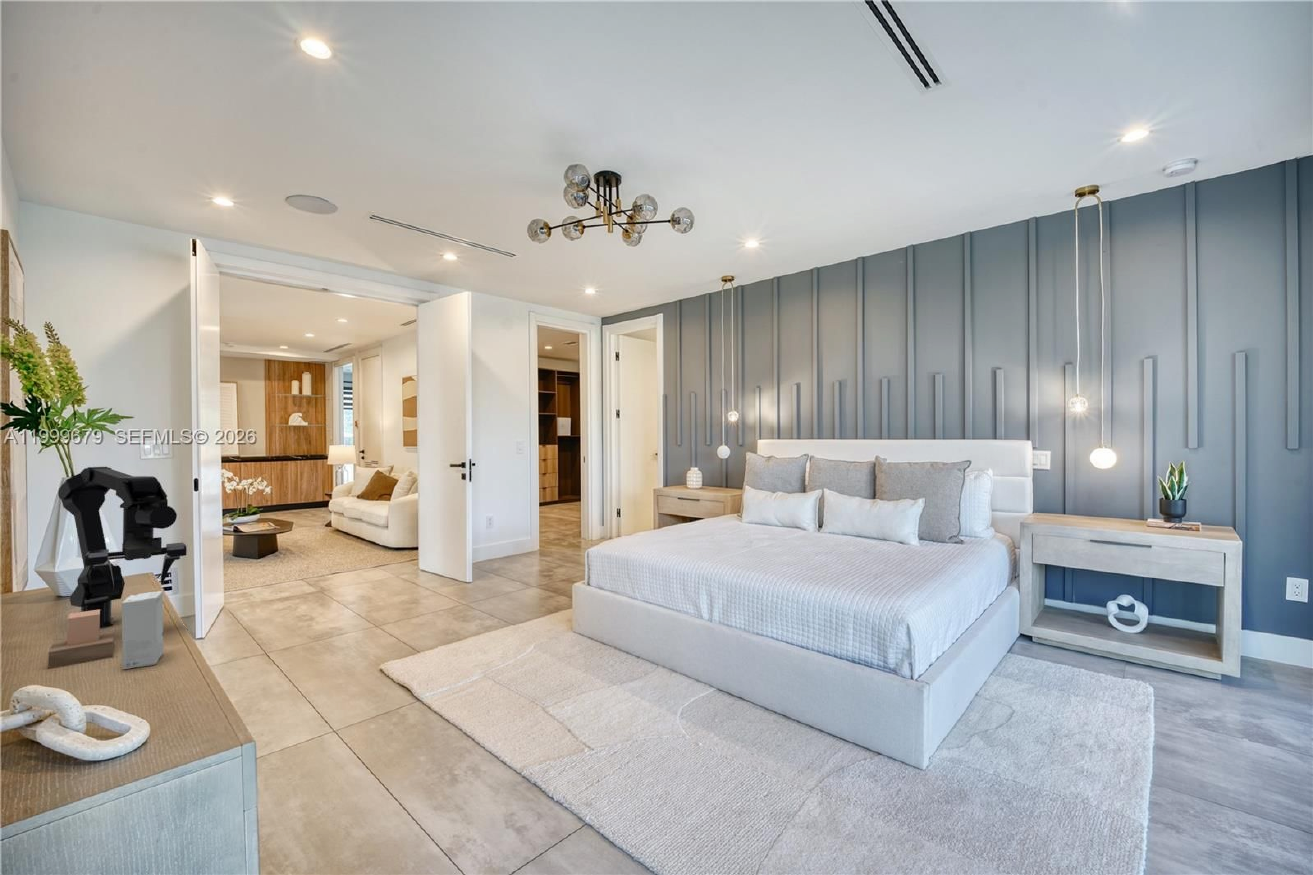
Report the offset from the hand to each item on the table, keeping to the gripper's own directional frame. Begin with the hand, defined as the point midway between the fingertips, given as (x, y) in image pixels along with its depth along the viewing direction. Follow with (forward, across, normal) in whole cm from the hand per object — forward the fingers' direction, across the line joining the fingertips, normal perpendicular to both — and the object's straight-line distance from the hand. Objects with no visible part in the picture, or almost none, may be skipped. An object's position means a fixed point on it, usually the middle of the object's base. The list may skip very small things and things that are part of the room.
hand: (137, 587), depth 142 cm
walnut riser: (+12, -9, -11) cm, 19 cm away
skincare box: (+12, +1, -24) cm, 27 cm away
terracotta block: (+8, -9, -11) cm, 16 cm away
